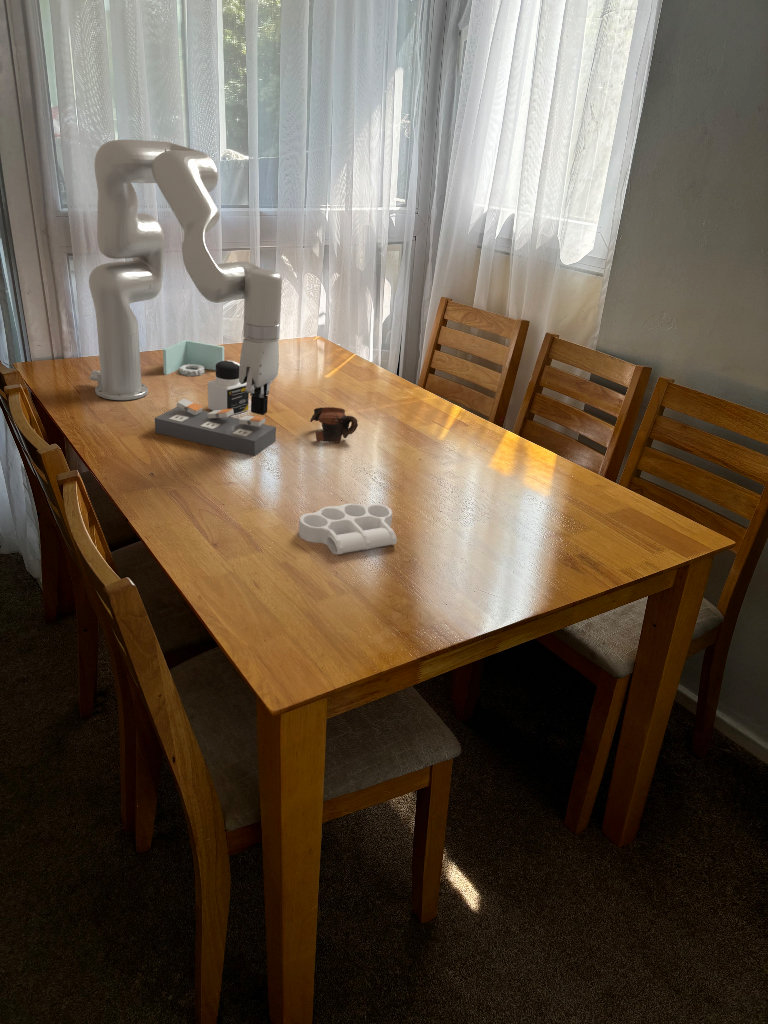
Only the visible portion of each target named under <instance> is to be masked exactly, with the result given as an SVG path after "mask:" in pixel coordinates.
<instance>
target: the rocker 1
mask: <svg viewBox="0 0 768 1024" xmlns="http://www.w3.org/2000/svg"><path fill="white" fill-rule="evenodd" d="M176 407H180V408H182V409H184V410H185V411H187V412H189V413H191V414H193V415H197V414H199V413H200V412H202V410H203V409H204V407H203V406H202V405H199V404H197V403H195V402H193V401H191V400H188V399H186V398H182V399H180V400H179V401H177V403H176ZM203 411H204V410H203Z"/></svg>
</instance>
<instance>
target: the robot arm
mask: <svg viewBox="0 0 768 1024" xmlns="http://www.w3.org/2000/svg"><path fill="white" fill-rule="evenodd" d="M94 173H95V174H94V175H95V181H96V186H97V188H96V189H97V211H96V212H97V214H96V215H97V216H96V217H97V218H96V220H97V221H96V224H97V225H96V227H97V228H96V238H97V239H96V240H97V248H98V249H99V252H100V253H101V254H102V255H103V256H105V257H106V258H109V259H114V260H115V259H118V260H119V259H132V260H128V261H127V260H125V261H116V262H115V261H114V262H113V261H112V262H107V263H103V264H100V265H98V266H95V267H94V268H93V269H92V270H91V272H90V274H89V278H88V285H89V290H90V294H91V297H92V302H93V305H94V311H95V320H96V331H97V344H98V356H99V370H96V369H93V370H92V371H91V374H90V375H89V380H91V381H96V382H97V385H96V386H95V389H94V390H95V395H97V396H98V397H99V398H100V397H101V398H102V399H106V400H111V401H132V400H137V399H141V398H143V397H145V396H147V394H148V393H149V388H148V386H147V385H146V384H144V383H142V372H141V371H142V369H141V354H140V353H141V352H140V351H141V348H140V332H139V322H138V319H137V317H136V315H135V313H134V311H133V310H132V309H131V307H130V304H133V303H138V302H144V301H149V300H153V299H155V298H156V297H157V296H158V295H160V292H161V289H162V285H163V276H164V274H163V273H164V264H165V263H164V262H165V233H164V230H163V227H162V225H161V224H160V222H159V221H158V220H157V219H156V218H155V217H154V216H152V215H150V214H146V213H138V206H139V201H138V195H137V192H136V190H135V188H134V186H133V184H157V187H158V188H159V190H160V192H161V193H162V196H163V197H164V199H165V201H166V202H167V204H168V206H169V207H170V209H171V211H172V213H173V214H174V216H175V218H176V220H177V222H178V224H179V225H180V227H181V229H182V231H183V234H182V235H183V236H182V239H181V254H182V260H183V264H184V265H183V266H184V267H185V269H186V272H187V274H188V275H189V278H190V279H191V281H192V283H193V284H194V286H195V287H196V289H197V290H198V292H199V293H200V294H201V296H203V297H204V299H206V300H207V301H209V302H211V303H217V304H218V303H226V302H231V301H232V302H233V301H238V300H244V301H243V305H244V306H243V341H242V344H241V350H240V357H239V358H240V360H239V364H240V368H239V382H240V384H244V383H247V384H246V392H247V393H249V395H250V397H251V398H250V413H253V414H256V415H261V416H264V415H266V414H267V413H268V405H269V404H268V402H269V401H268V398H269V397H268V396H269V394H270V386H271V384H272V383H273V382H274V380H275V379H276V378H277V377H278V374H279V368H280V367H279V365H280V364H279V362H280V359H279V358H280V357H279V356H280V354H279V353H280V349H279V347H280V346H279V340H280V332H281V313H282V311H281V310H282V290H283V289H282V288H283V287H282V285H283V279H282V276H281V274H280V273H279V272H277V271H276V270H272V269H267V268H262V267H259V266H258V265H255V264H253V263H251V262H249V261H234V262H232V261H231V262H224V263H216V262H215V260H214V259H213V257H212V256H211V254H210V252H209V250H208V247H207V246H206V242H205V234H207V233H208V232H209V231H211V230H212V229H213V228H214V227H215V226H216V224H217V223H218V222H219V220H220V217H221V216H220V215H221V214H220V211H219V209H218V206H217V205H216V204H215V202H214V199H213V198H212V196H211V195H210V193H211V192H212V191H214V190H215V188H216V187H217V184H218V181H219V173H218V169H217V166H216V164H215V162H214V160H213V159H212V158H211V157H210V156H209V155H208V154H207V153H205V152H203V151H201V150H199V149H198V150H197V149H195V148H191V147H187V146H183V145H180V144H176V143H174V142H169V141H160V140H142V139H115V140H111V141H107V142H105V143H103V144H102V145H101V146H100V147H99V148H98V150H97V152H96V154H95V157H94Z"/></svg>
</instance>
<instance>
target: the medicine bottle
mask: <svg viewBox="0 0 768 1024" xmlns="http://www.w3.org/2000/svg"><path fill="white" fill-rule="evenodd" d="M239 368H240V362H237V361H234V360H224V361H221V362H218V363H217V364H216V370H215V379H214V380H213V379H212V380H209V381H207V407H208V410H210V411H211V412H212V411H214V410H223V409H233V411H234V414H232V415H230V417H232V416H235V415H237V414H241V413H245V412H248V411H249V406H250V405H249V401H250V399H249V398H250V397H249V395H250V393H247V392H246V384H247V382H246V383H244V384H240V382H239Z"/></svg>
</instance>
